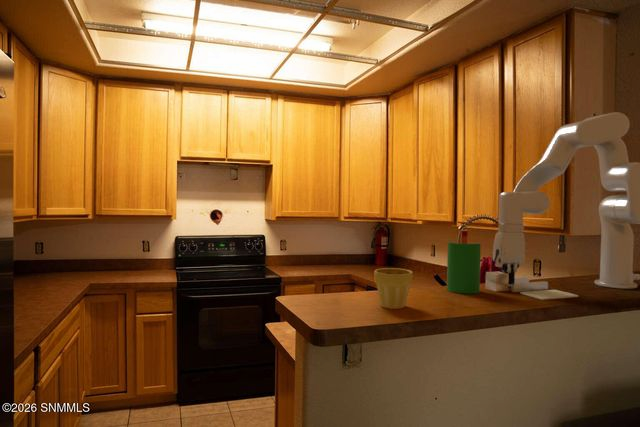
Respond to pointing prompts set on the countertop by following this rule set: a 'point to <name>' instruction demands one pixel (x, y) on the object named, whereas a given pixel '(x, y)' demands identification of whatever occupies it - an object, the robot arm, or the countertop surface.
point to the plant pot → (393, 286)
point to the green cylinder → (463, 266)
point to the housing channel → (527, 285)
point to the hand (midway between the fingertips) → (509, 283)
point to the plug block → (497, 281)
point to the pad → (548, 294)
